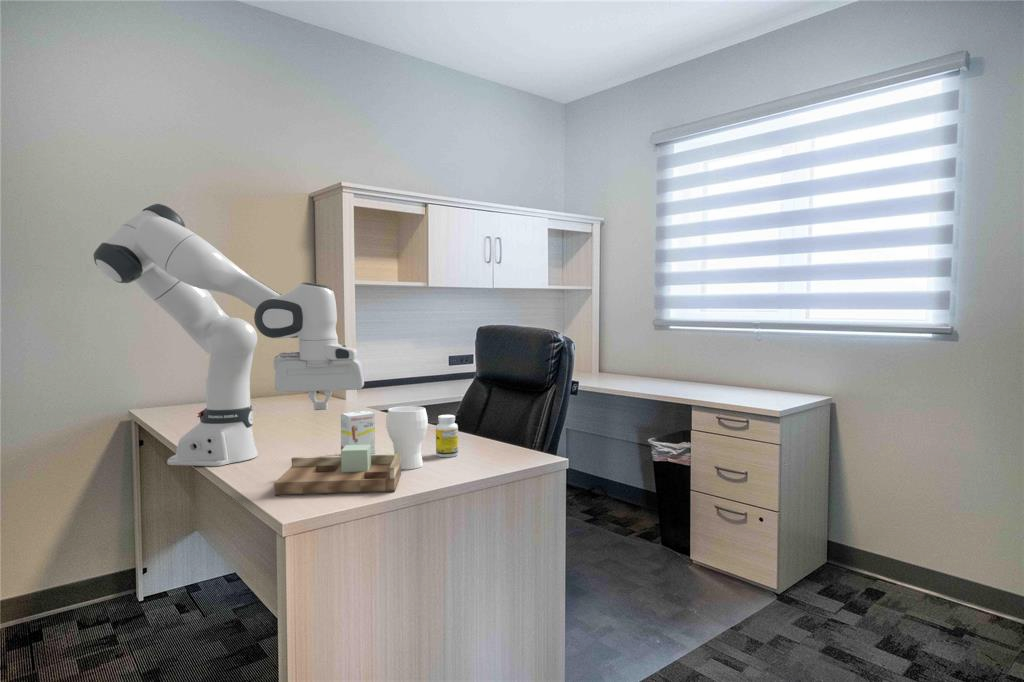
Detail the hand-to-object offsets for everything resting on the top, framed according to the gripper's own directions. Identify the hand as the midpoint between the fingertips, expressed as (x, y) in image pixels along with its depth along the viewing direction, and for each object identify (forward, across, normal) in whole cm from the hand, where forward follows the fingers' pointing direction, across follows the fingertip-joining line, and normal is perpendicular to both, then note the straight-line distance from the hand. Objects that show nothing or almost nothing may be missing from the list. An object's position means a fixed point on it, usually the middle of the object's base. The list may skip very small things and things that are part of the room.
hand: (321, 409), depth 146 cm
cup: (+18, +19, +11) cm, 28 cm away
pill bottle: (+18, +30, +22) cm, 41 cm away
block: (+14, +8, -1) cm, 16 cm away
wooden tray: (+17, +5, -4) cm, 18 cm away
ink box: (+18, +5, +26) cm, 32 cm away
